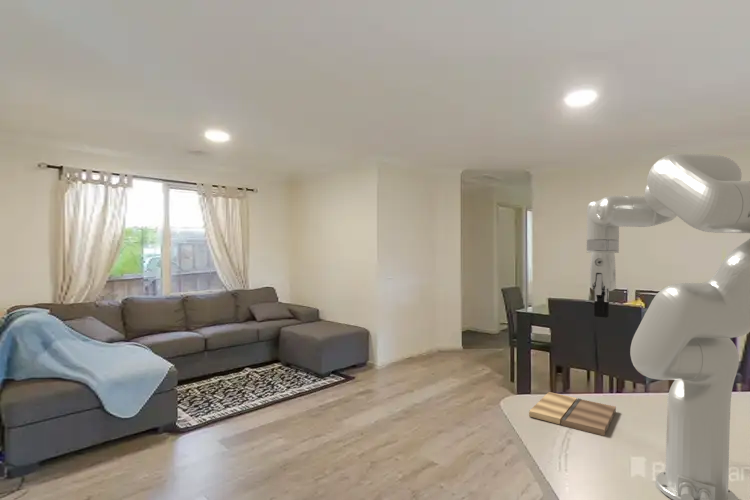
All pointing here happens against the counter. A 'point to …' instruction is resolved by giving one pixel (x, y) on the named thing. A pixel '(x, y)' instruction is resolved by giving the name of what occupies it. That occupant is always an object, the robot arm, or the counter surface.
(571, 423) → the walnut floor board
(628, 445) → the counter surface
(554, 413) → the oak plank
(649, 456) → the counter surface
